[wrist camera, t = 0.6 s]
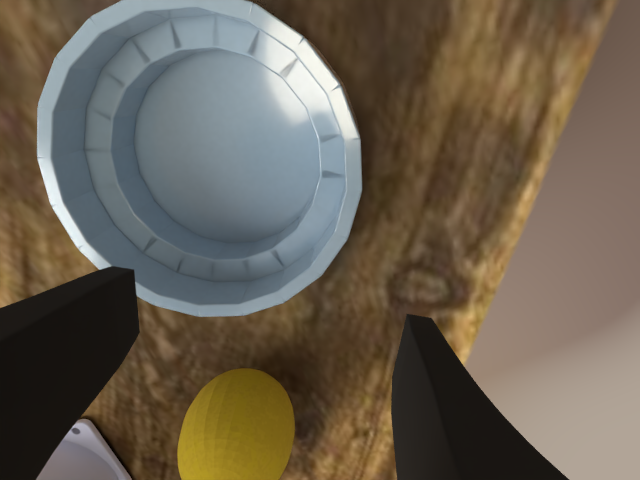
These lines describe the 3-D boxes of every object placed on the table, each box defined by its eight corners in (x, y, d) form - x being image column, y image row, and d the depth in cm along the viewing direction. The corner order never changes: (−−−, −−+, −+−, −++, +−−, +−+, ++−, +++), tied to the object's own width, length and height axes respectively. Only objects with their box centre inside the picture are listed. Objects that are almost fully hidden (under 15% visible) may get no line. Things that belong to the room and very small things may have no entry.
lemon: (316, 403, 26) (302, 536, 19) (234, 427, 27) (189, 561, 20) (278, 327, 24) (246, 440, 17) (191, 356, 25) (125, 473, 18)
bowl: (180, 296, 24) (139, 350, 19) (57, 75, 20) (-31, 76, 16) (394, 222, 22) (405, 263, 17) (299, -42, 18) (281, -82, 13)
